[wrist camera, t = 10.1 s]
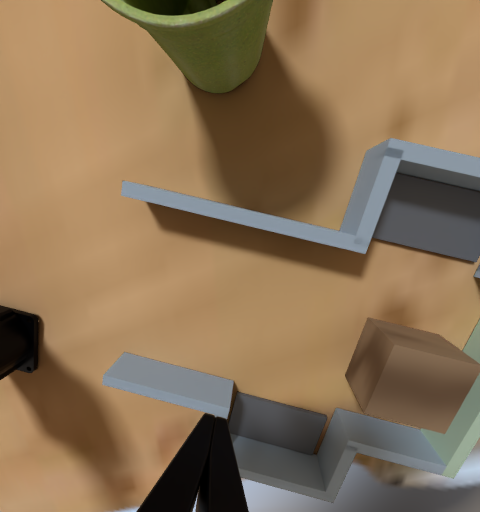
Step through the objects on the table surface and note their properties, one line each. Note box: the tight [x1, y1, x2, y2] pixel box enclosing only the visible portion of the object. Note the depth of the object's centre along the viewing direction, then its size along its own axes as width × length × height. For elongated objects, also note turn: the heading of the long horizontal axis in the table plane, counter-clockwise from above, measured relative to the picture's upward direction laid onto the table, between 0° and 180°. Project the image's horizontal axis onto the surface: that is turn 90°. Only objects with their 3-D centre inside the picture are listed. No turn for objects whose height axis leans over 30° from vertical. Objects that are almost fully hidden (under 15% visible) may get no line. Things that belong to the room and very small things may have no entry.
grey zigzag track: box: [102, 138, 480, 503], centre depth 18 cm, size 29×30×3 cm
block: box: [345, 317, 480, 434], centre depth 18 cm, size 6×6×4 cm
